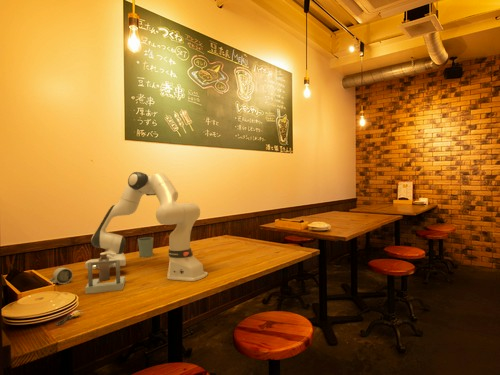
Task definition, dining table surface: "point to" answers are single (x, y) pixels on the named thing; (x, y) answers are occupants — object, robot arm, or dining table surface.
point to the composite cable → (70, 317)
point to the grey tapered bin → (145, 247)
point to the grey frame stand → (97, 287)
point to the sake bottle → (104, 268)
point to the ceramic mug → (62, 276)
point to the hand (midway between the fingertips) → (104, 266)
